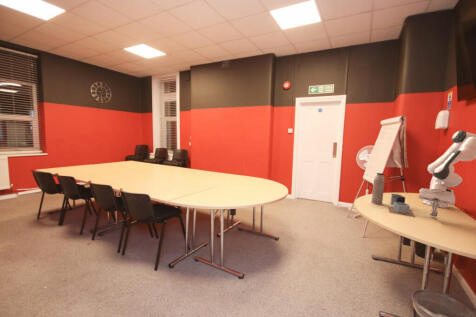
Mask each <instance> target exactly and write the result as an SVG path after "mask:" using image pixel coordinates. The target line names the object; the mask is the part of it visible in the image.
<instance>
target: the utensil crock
mask: <svg viewBox="0 0 476 317" xmlns="http://www.w3.org/2000/svg"><path fill="white" fill-rule="evenodd" d="M392 207H393V210H394V211H396V212H398V213H404V214H407V213H409V210H410V207H411V206H410V204H408V203H401V202H394V206H392Z"/></svg>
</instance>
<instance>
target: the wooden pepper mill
mask: <svg viewBox="0 0 476 317" xmlns="http://www.w3.org/2000/svg"><path fill="white" fill-rule="evenodd" d="M385 182H386V181H385V177H384V173H381V172H377V173H376V176H375V177H374V179H373V184H372V192H371V193H372V194H371V203H372V204H374V205H380V206H381V205H383V199H384V191H385Z"/></svg>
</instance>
